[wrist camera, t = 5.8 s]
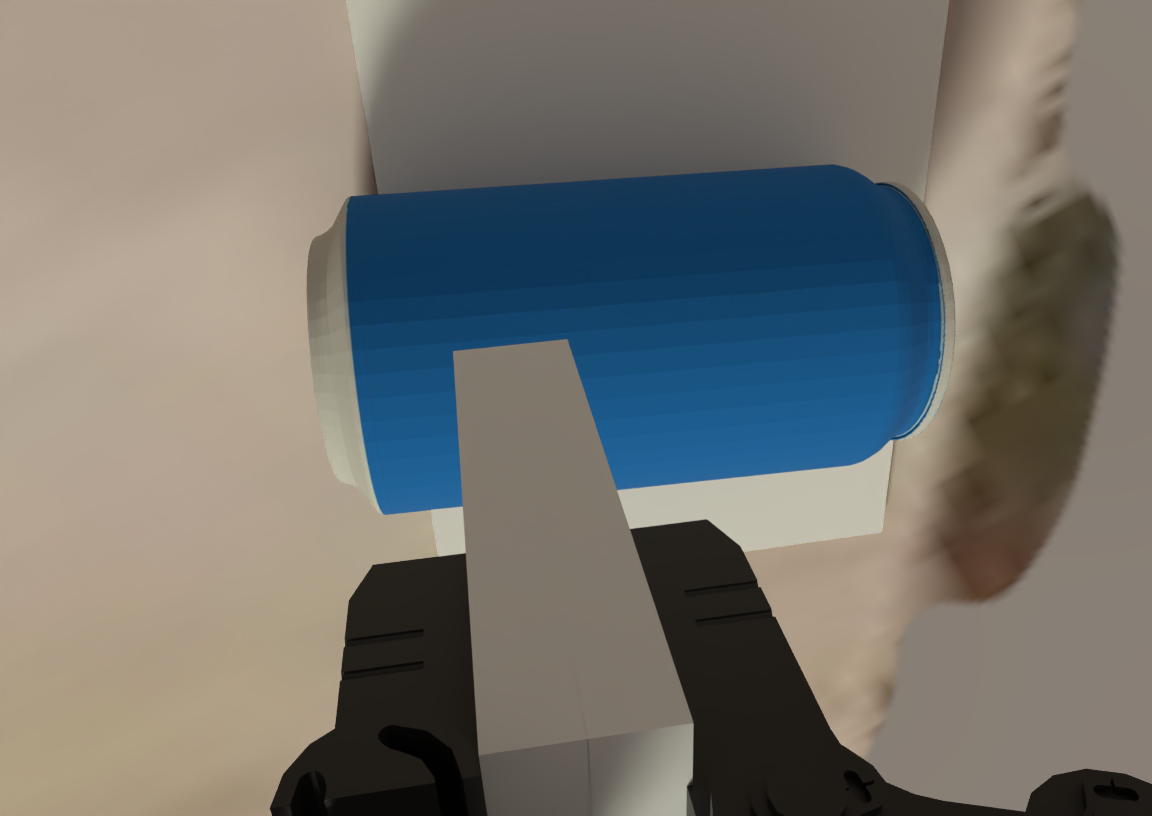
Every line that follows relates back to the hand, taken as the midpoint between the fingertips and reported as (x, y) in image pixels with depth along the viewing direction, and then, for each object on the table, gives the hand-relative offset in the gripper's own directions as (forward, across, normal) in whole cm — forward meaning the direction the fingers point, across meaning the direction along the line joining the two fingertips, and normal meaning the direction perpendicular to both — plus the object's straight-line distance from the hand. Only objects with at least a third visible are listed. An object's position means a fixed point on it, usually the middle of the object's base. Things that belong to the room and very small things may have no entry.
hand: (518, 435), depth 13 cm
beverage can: (+7, -4, -2) cm, 8 cm away
